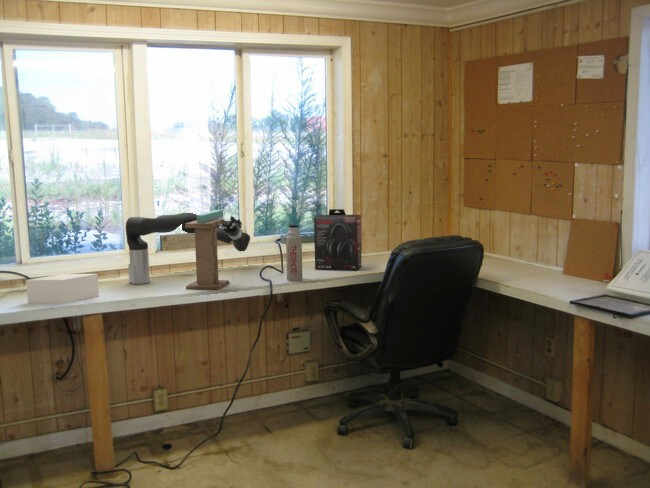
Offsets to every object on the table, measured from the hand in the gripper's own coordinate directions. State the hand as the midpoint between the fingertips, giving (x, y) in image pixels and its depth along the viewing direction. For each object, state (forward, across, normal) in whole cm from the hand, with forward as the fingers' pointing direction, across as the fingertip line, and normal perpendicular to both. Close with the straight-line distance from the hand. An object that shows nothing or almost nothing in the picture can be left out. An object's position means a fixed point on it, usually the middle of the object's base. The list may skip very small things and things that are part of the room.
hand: (223, 217), depth 338 cm
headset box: (-44, -54, -11) cm, 70 cm away
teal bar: (+14, +1, -7) cm, 16 cm away
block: (+35, +55, -57) cm, 87 cm away
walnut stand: (+4, +1, -38) cm, 39 cm away
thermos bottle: (-15, -37, -28) cm, 49 cm away
